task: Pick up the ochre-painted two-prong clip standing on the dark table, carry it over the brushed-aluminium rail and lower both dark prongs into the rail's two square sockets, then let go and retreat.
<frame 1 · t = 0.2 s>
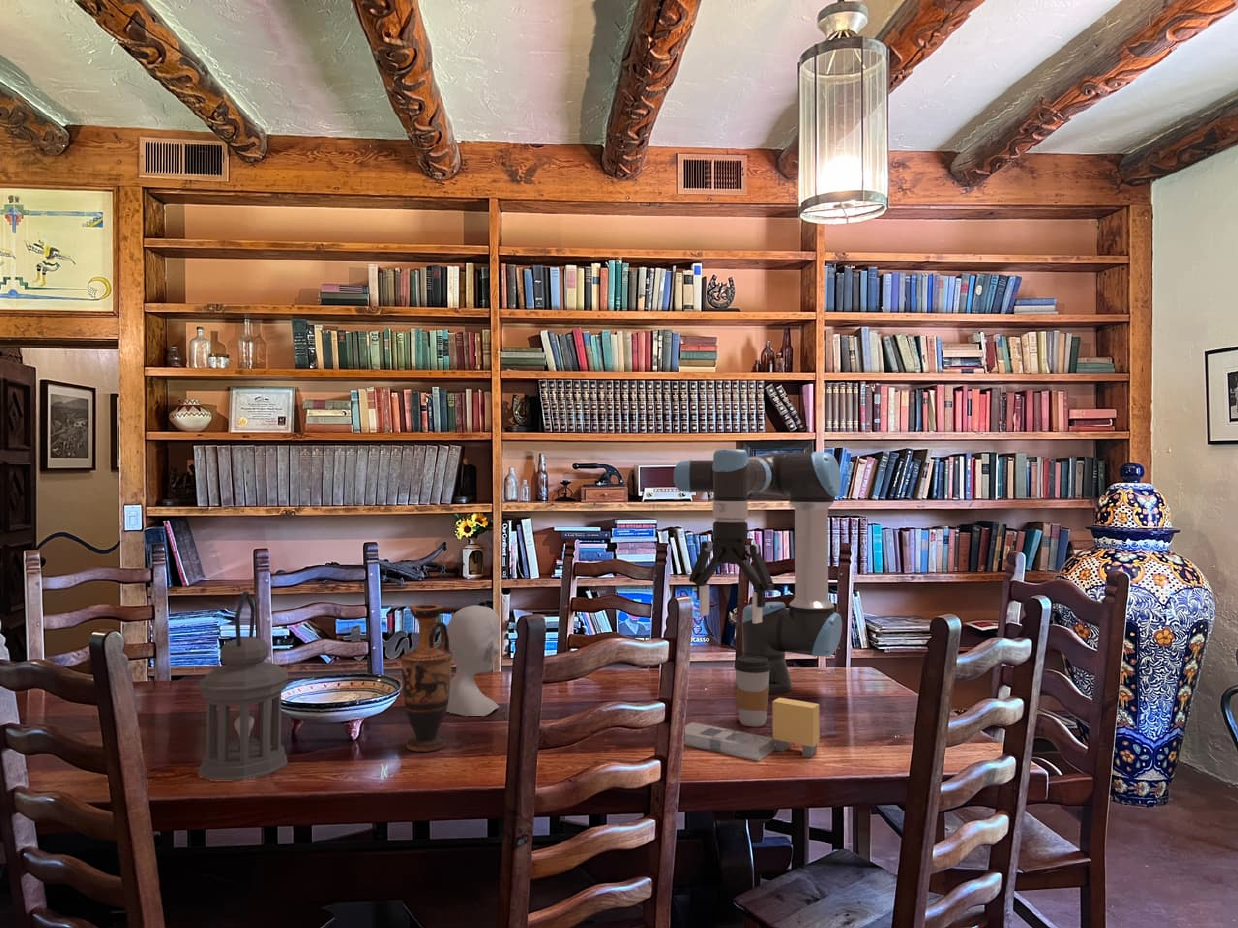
hand: (730, 618, 173), 27 cm above the table, fingers open, 13 cm apart
lantern: (243, 767, 160), on the table
clip: (796, 750, 169), on the table
coffee cup: (752, 723, 189), on the table
vase: (426, 746, 172), on the table
rail: (723, 746, 172), on the table
head bust: (472, 704, 205), on the table
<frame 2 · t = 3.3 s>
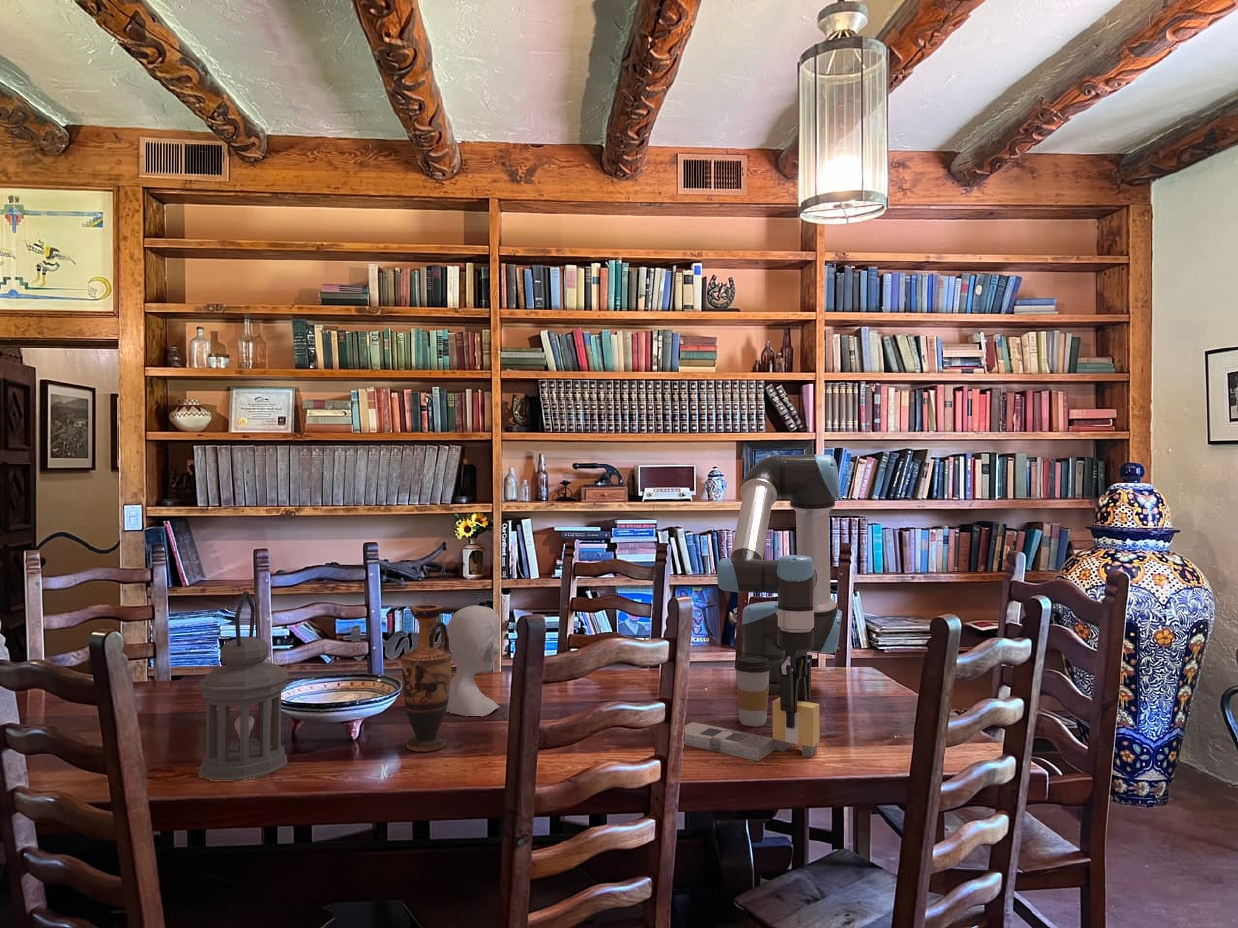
hand: (795, 739, 169), 2 cm above the table, fingers closed on clip, 4 cm apart
clip: (796, 750, 169), on the table, touching gripper
everything else where it was.
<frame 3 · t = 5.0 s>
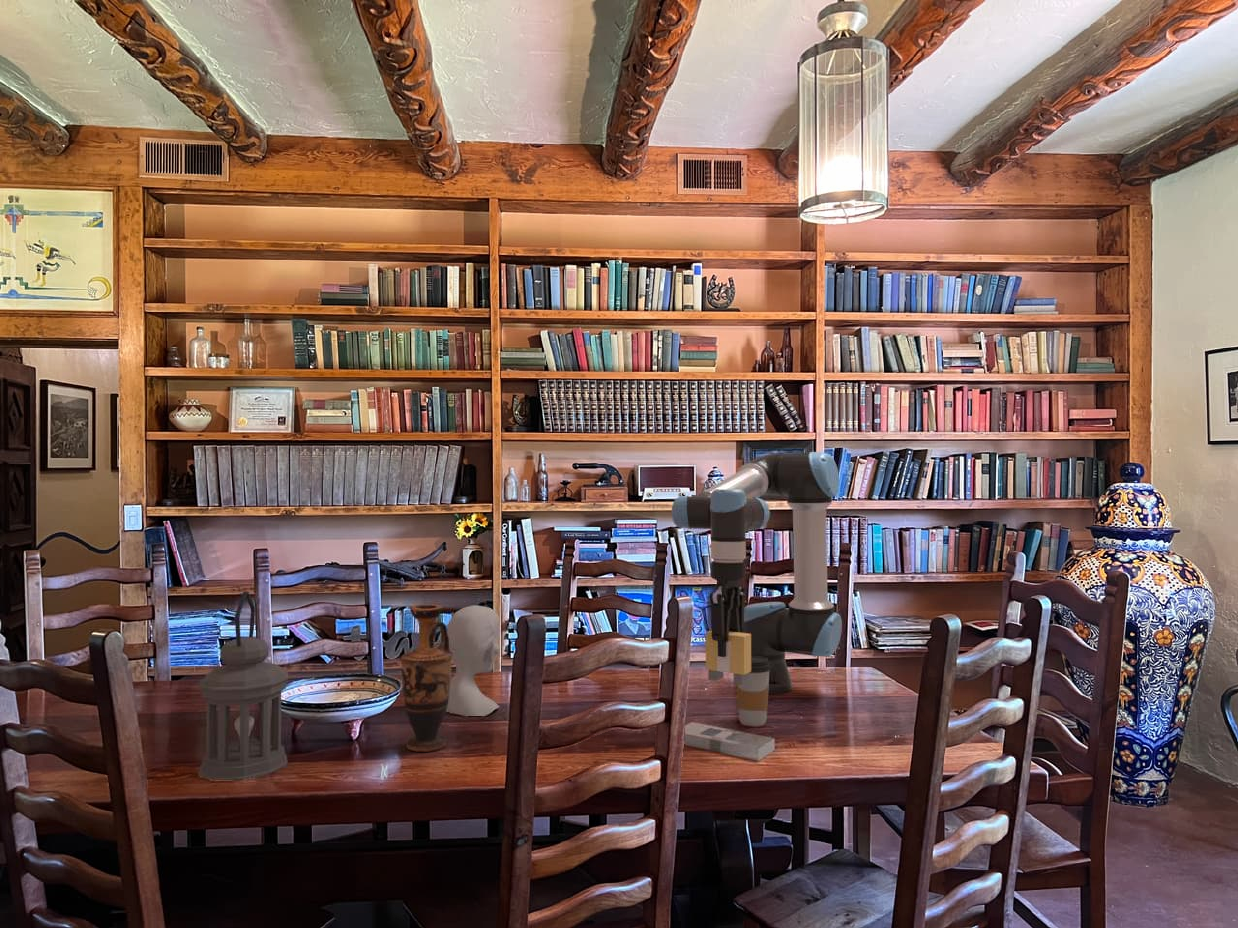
hand: (728, 669, 172), 17 cm above the table, fingers closed on clip, 4 cm apart
clip: (728, 680, 172), point 14 cm above the table, touching gripper
everything else where it was.
when the fingers open (4 cm above the table, at t = 7.0 s): clip stays where it is, resting on rail.
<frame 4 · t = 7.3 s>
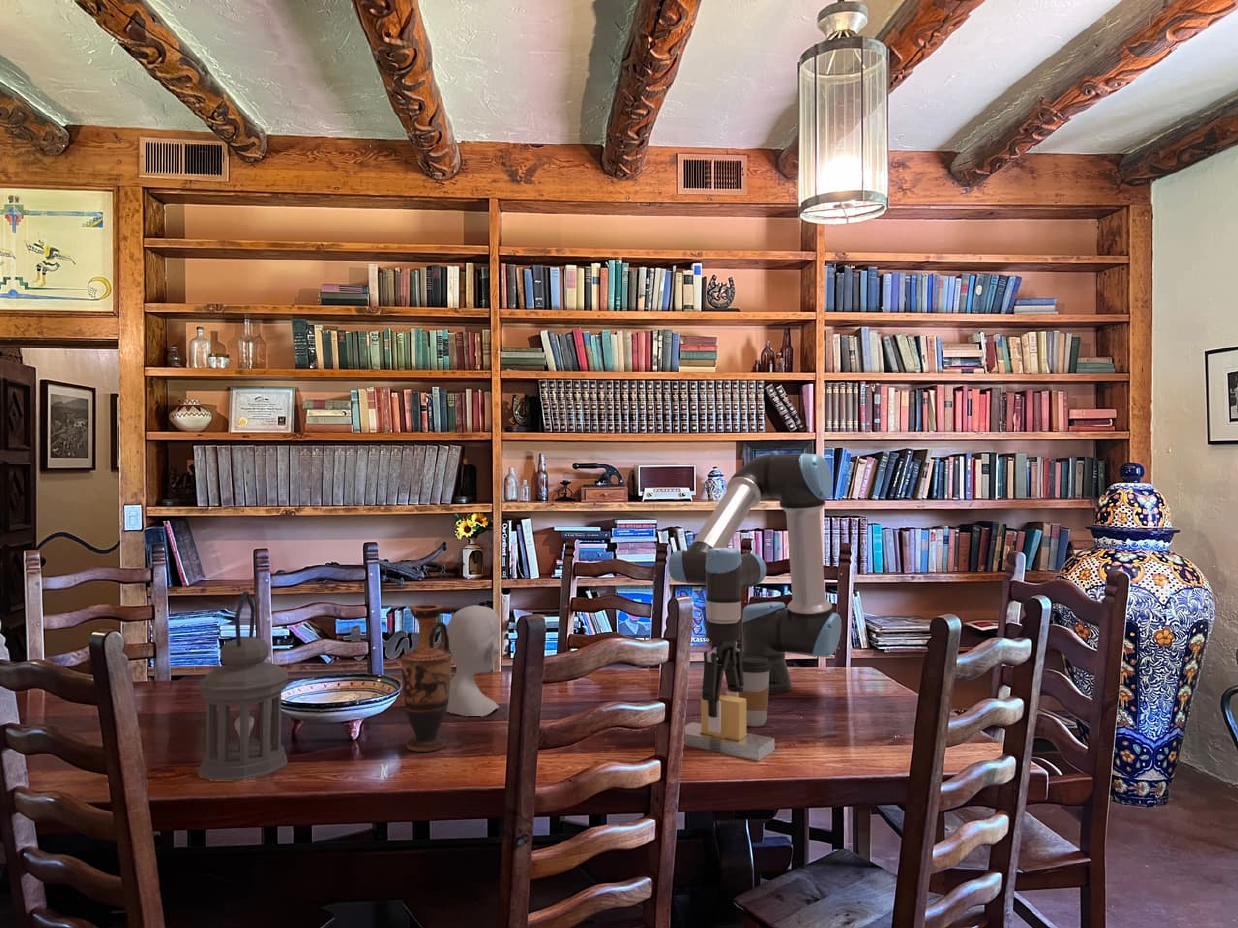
hand: (723, 726, 172), 4 cm above the table, fingers open, 8 cm apart
clip: (723, 744, 172), resting on rail
everything else where it was.
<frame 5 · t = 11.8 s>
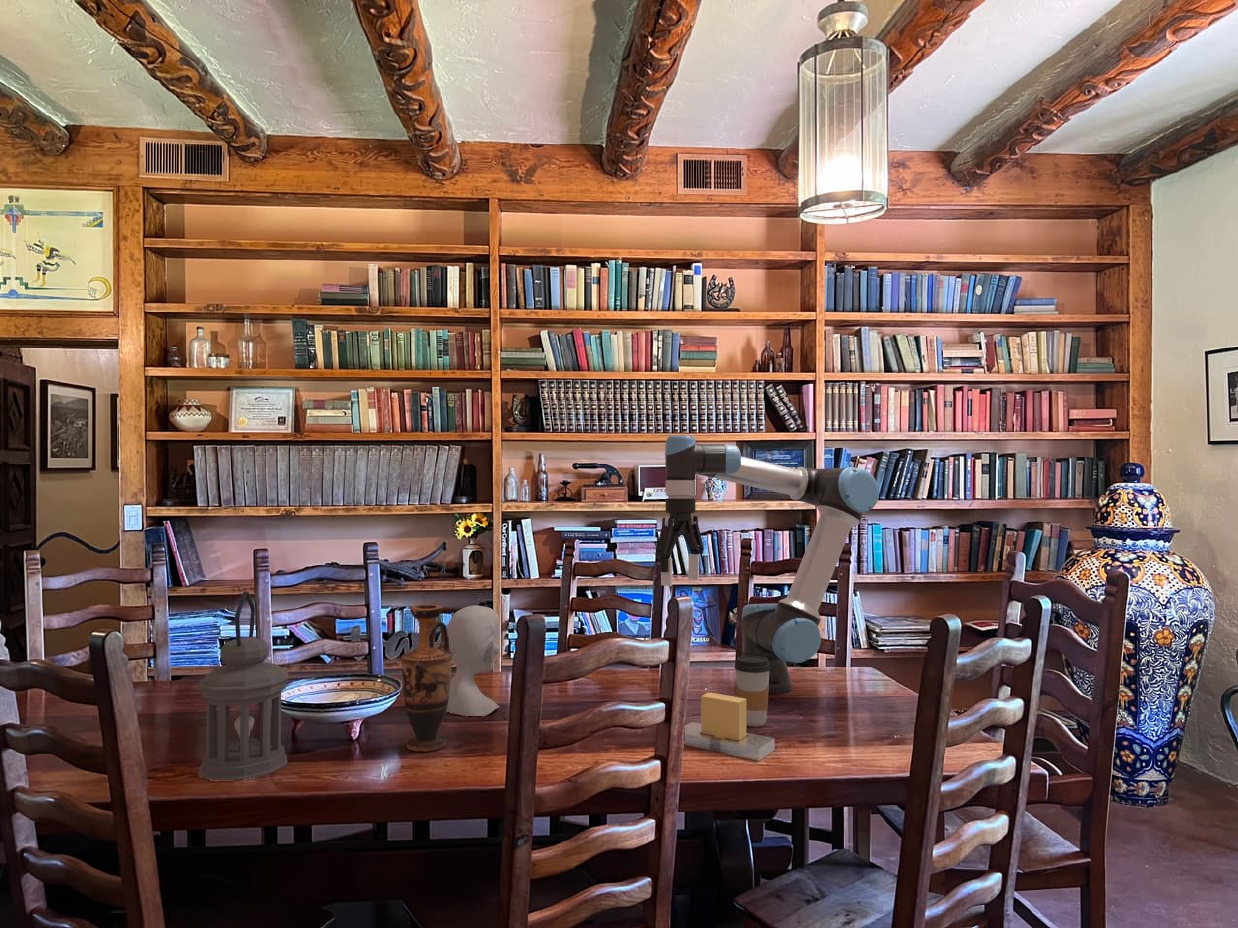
hand: (680, 582, 200), 32 cm above the table, fingers open, 13 cm apart
nothing on the table moved.
at the end: clip 0.0 cm off-centre on the rail, point 0.3 cm above the rail's base; clip tilted 0°; the gripper is holding nothing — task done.
